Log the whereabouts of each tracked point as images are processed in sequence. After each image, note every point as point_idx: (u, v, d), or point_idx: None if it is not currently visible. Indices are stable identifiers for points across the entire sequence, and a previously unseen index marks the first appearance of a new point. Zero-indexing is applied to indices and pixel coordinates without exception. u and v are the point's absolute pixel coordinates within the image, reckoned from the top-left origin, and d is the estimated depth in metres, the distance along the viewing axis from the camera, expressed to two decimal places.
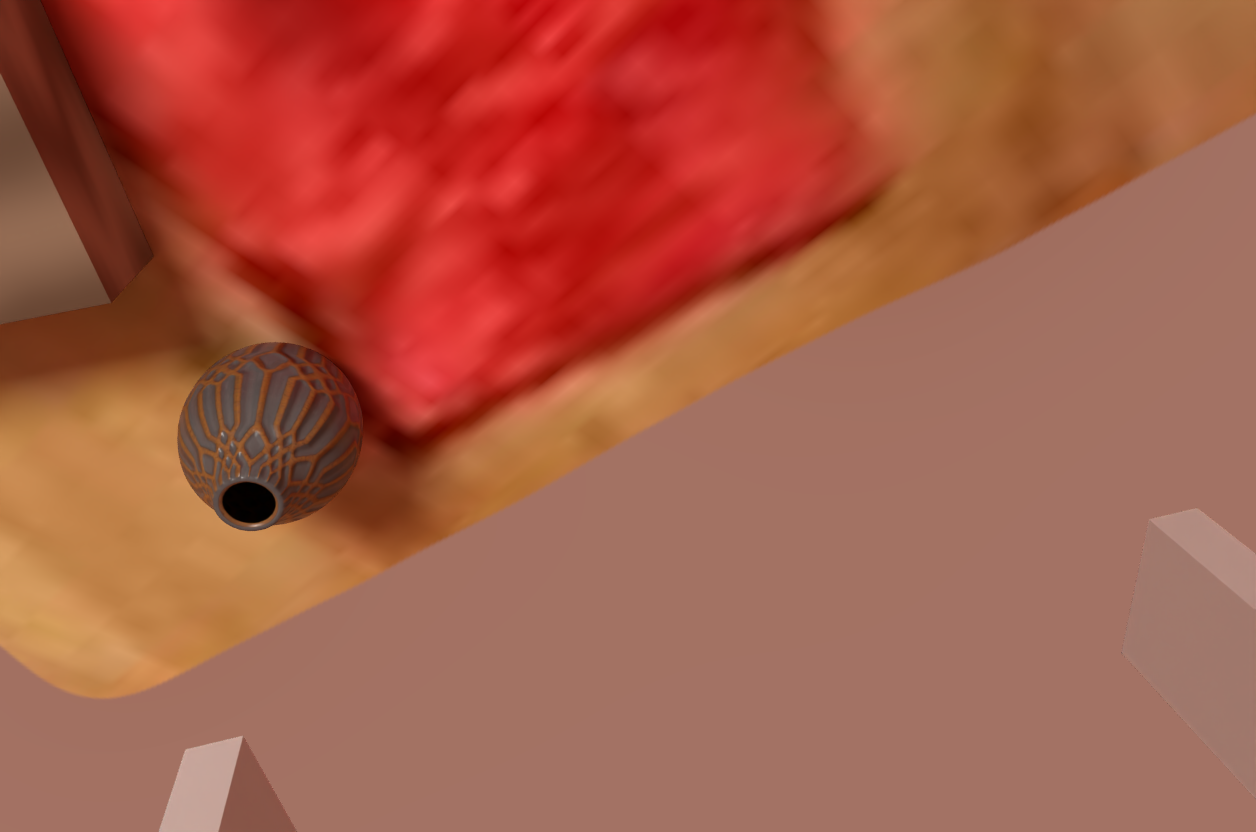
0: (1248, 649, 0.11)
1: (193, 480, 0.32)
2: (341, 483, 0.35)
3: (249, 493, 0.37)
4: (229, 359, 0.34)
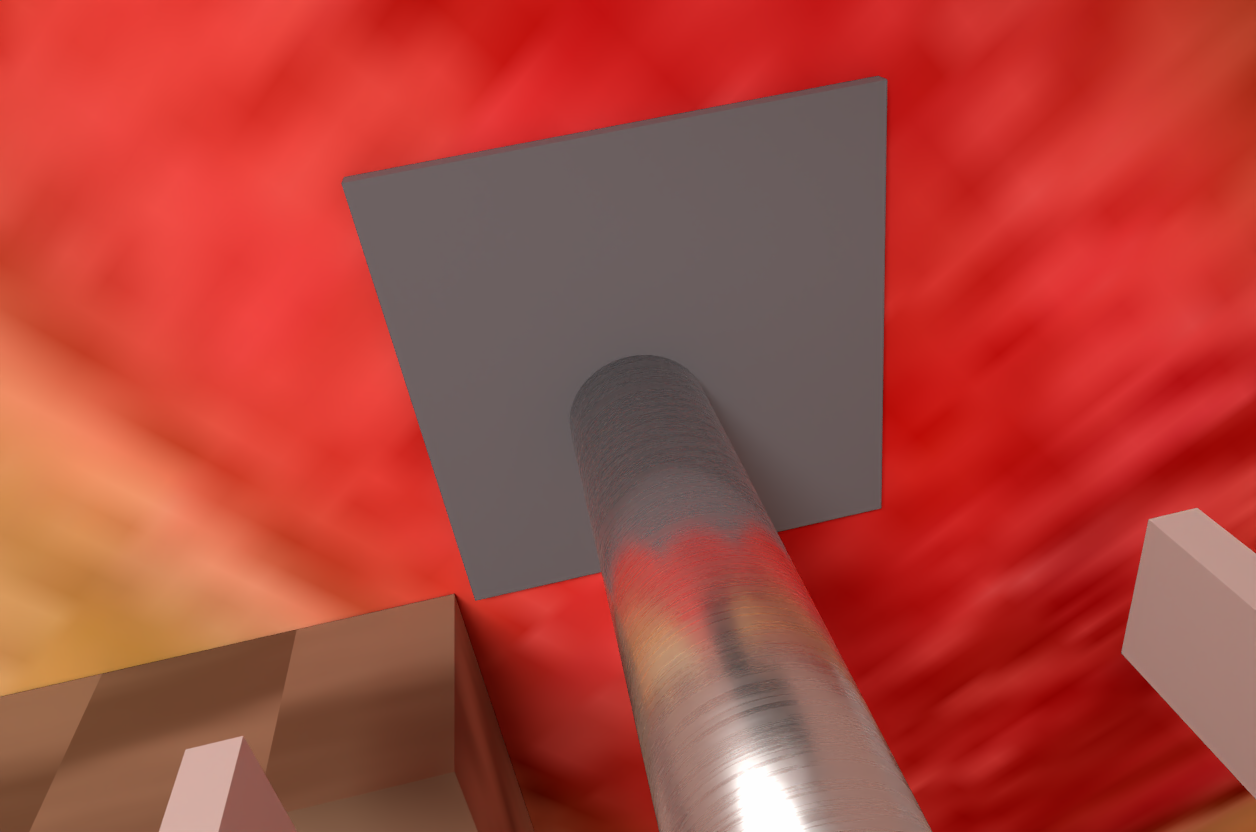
0: (1248, 649, 0.11)
1: None
2: None
3: None
4: None
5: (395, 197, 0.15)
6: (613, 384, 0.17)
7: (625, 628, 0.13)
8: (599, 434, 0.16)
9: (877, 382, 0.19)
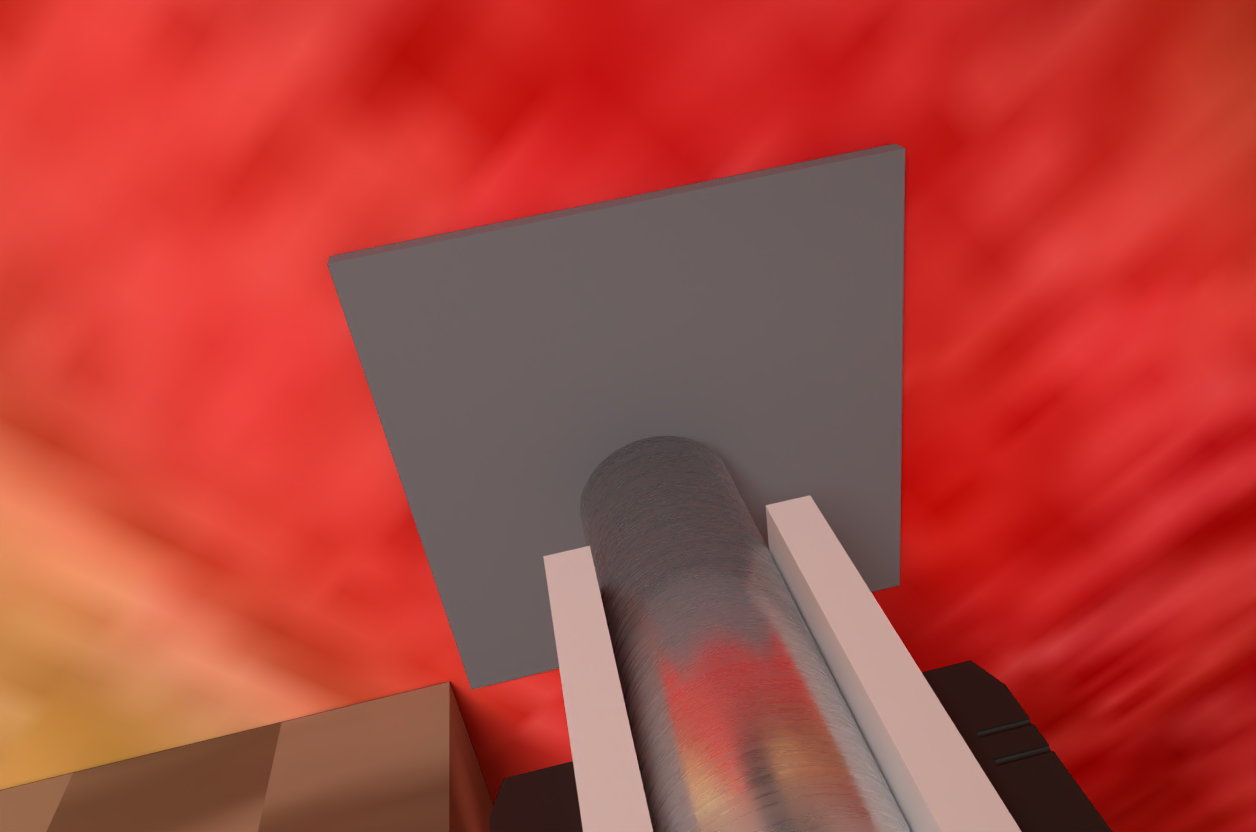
0: (810, 617, 0.13)
1: None
2: None
3: None
4: None
5: (384, 277, 0.14)
6: (629, 473, 0.15)
7: (653, 793, 0.11)
8: (615, 534, 0.14)
9: (895, 457, 0.18)
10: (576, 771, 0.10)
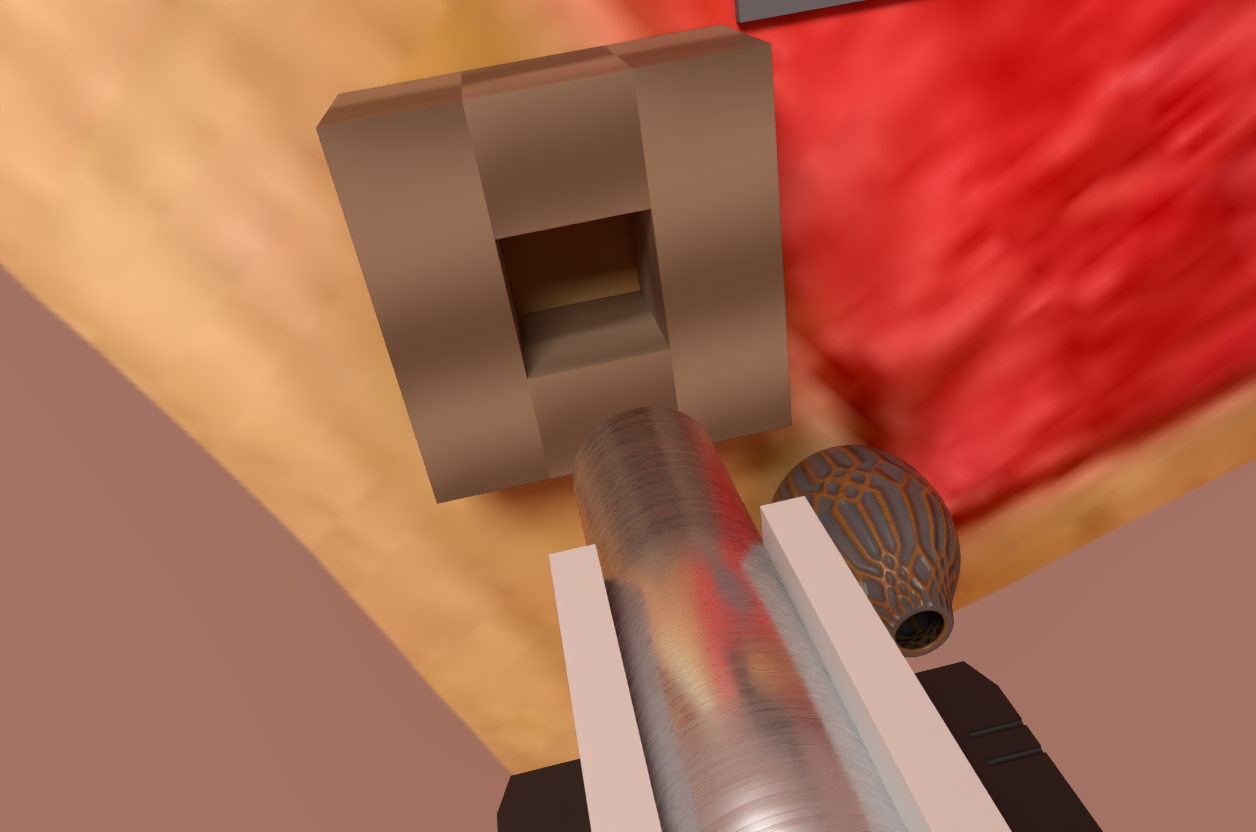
0: (804, 618, 0.13)
1: None
2: None
3: None
4: (842, 470, 0.33)
5: None
6: (618, 439, 0.16)
7: (635, 716, 0.12)
8: (604, 495, 0.15)
9: None
10: (583, 768, 0.10)
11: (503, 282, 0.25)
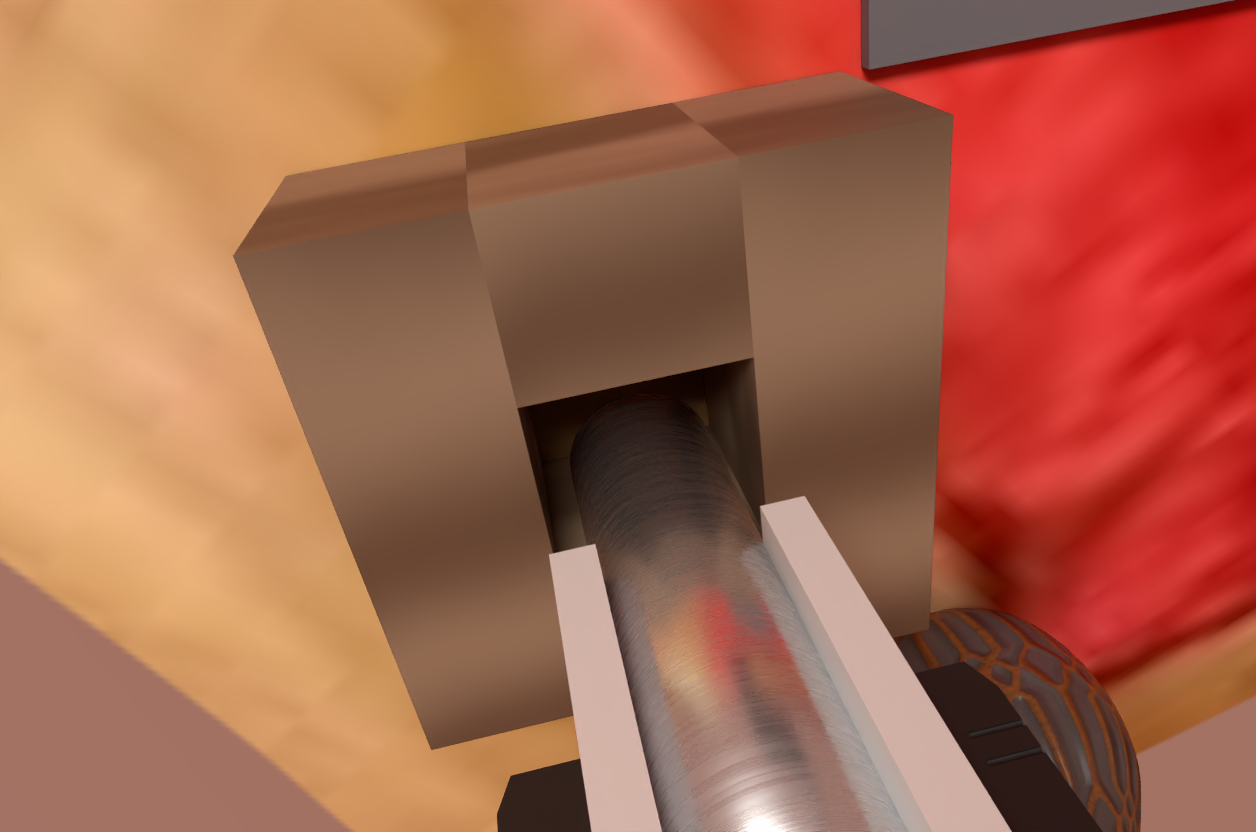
0: (804, 618, 0.13)
1: None
2: None
3: None
4: (977, 659, 0.24)
5: None
6: (614, 425, 0.17)
7: None
8: (601, 478, 0.16)
9: None
10: (583, 768, 0.10)
11: (529, 466, 0.16)
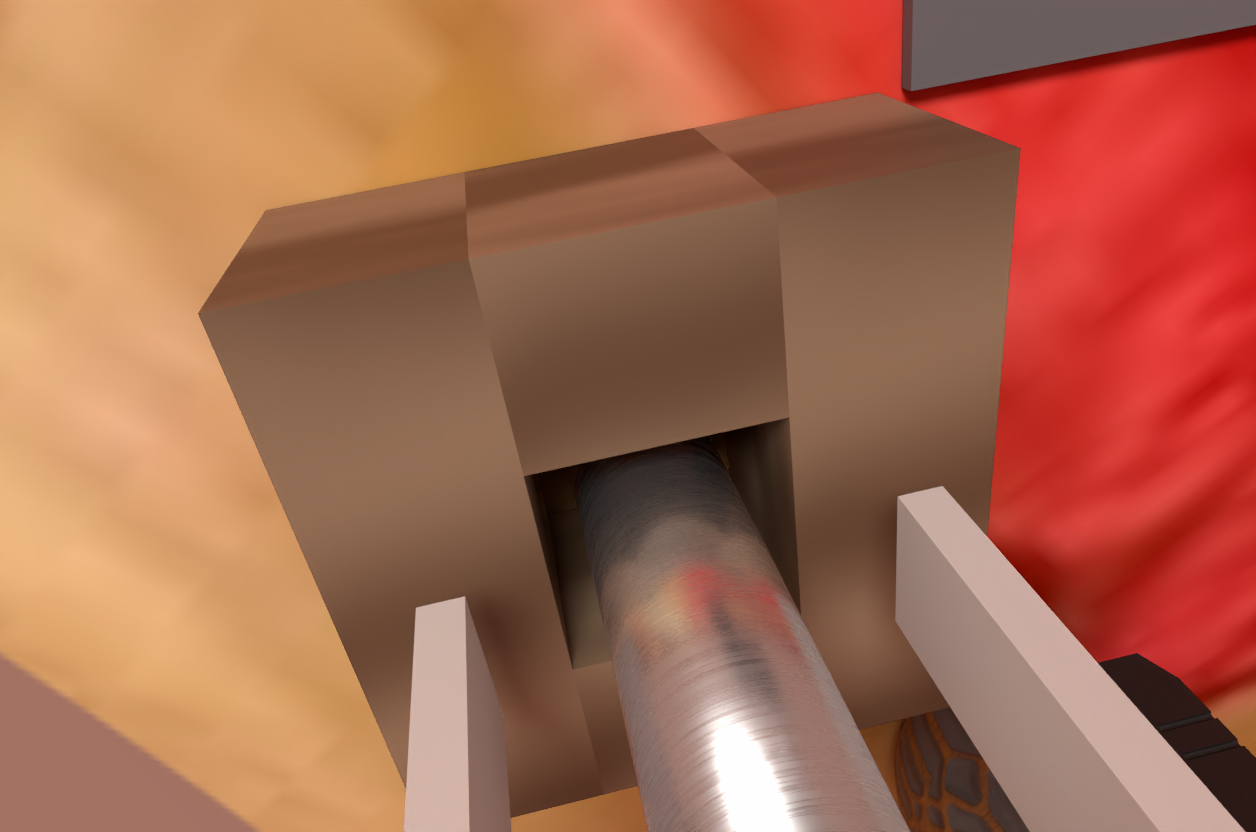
0: (958, 610, 0.12)
1: None
2: None
3: None
4: None
5: None
6: None
7: (608, 602, 0.14)
8: None
9: None
10: None
11: (537, 538, 0.15)
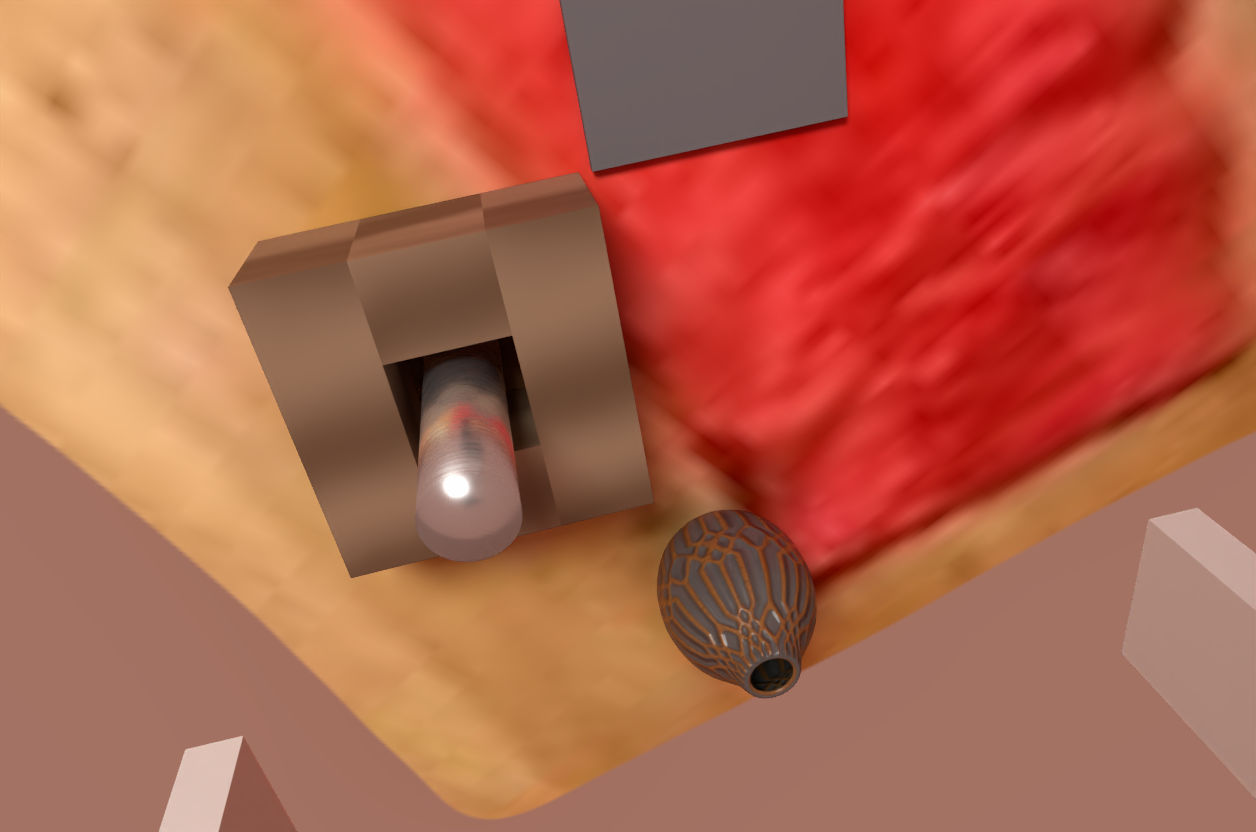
0: (1247, 649, 0.11)
1: (703, 651, 0.36)
2: None
3: None
4: (711, 535, 0.38)
5: None
6: None
7: (421, 422, 0.29)
8: None
9: (840, 15, 0.31)
10: None
11: (392, 398, 0.30)
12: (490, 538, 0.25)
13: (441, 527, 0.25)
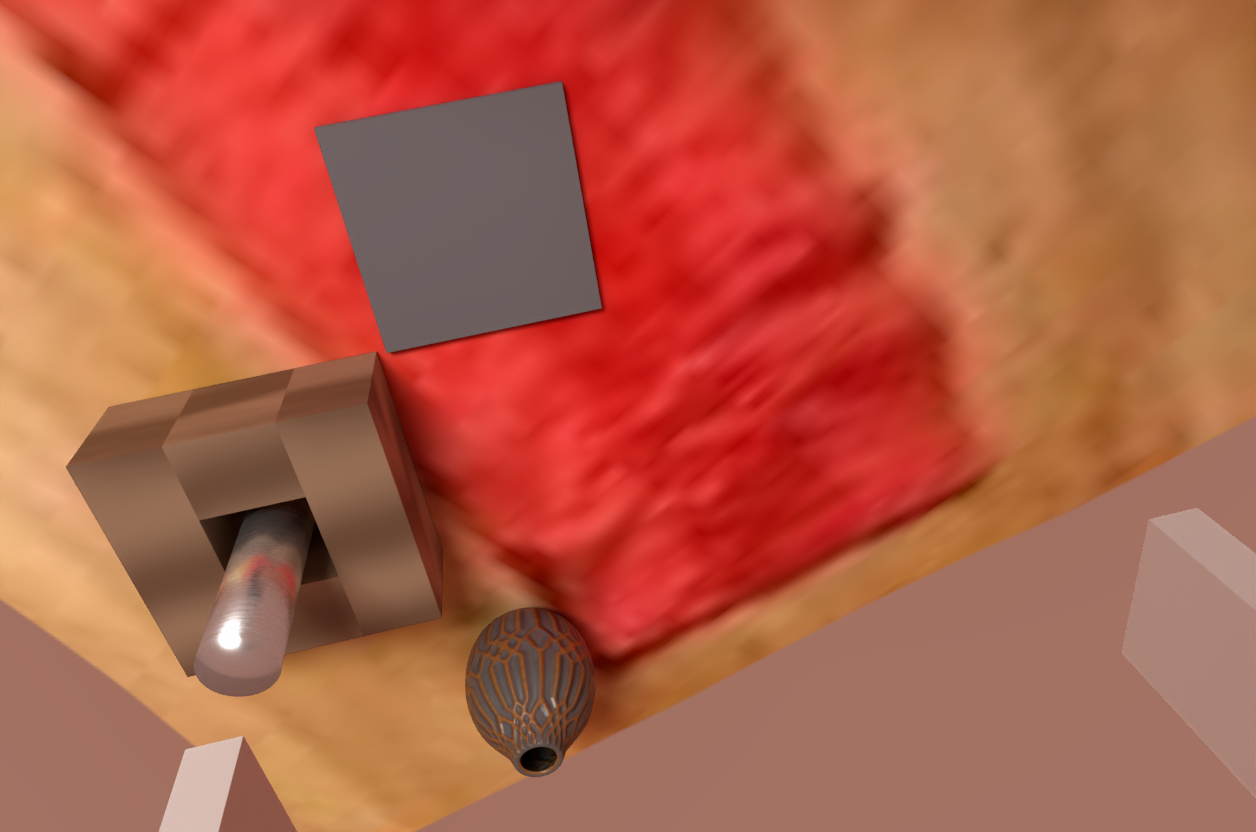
0: (1248, 649, 0.11)
1: (489, 735, 0.43)
2: None
3: None
4: (505, 635, 0.45)
5: (338, 135, 0.34)
6: None
7: None
8: None
9: (586, 234, 0.38)
10: None
11: (209, 544, 0.37)
12: (257, 679, 0.32)
13: (216, 673, 0.32)
